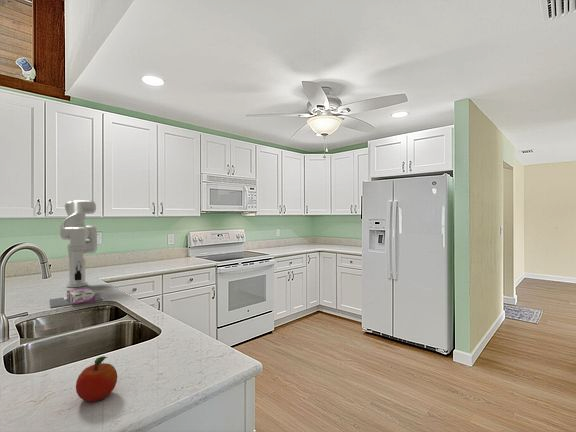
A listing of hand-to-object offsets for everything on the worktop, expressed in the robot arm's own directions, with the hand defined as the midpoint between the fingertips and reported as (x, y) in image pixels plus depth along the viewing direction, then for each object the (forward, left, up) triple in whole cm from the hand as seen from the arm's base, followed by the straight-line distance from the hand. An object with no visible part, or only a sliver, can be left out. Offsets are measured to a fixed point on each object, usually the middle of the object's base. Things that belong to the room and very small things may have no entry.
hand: (78, 279), depth 180 cm
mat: (+1, -1, -12) cm, 12 cm away
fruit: (+121, -5, -12) cm, 122 cm away
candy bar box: (-4, 0, -9) cm, 9 cm away
